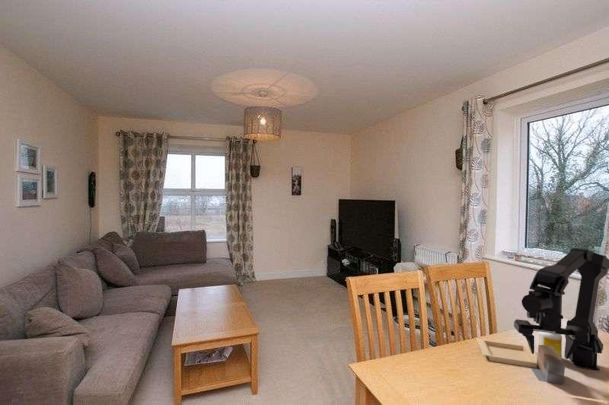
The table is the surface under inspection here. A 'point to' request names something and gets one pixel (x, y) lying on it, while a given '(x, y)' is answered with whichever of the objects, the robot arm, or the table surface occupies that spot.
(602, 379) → the table surface
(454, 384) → the table surface
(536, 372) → the coaster
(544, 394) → the table surface
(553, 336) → the supplement bottle
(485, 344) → the tray
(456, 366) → the table surface
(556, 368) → the box
